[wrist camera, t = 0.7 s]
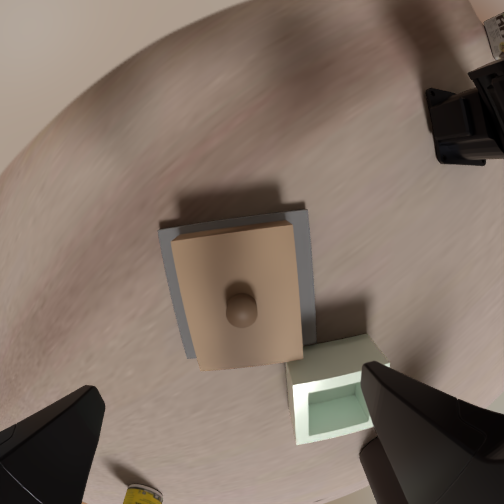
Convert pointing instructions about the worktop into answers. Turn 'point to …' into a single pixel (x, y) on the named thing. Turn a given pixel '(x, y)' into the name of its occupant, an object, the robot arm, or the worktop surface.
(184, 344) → the mat
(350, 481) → the worktop surface
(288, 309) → the cover
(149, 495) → the supplement bottle
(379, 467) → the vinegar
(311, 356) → the pale green box
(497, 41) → the coffee box
